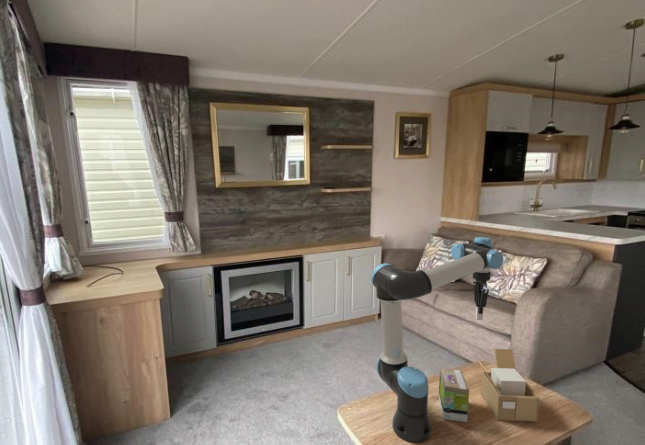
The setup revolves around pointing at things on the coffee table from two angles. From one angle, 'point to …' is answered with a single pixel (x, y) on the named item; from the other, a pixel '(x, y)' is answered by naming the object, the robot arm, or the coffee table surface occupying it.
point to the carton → (509, 396)
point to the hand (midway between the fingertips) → (479, 319)
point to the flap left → (488, 376)
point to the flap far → (504, 358)
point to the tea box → (453, 395)
